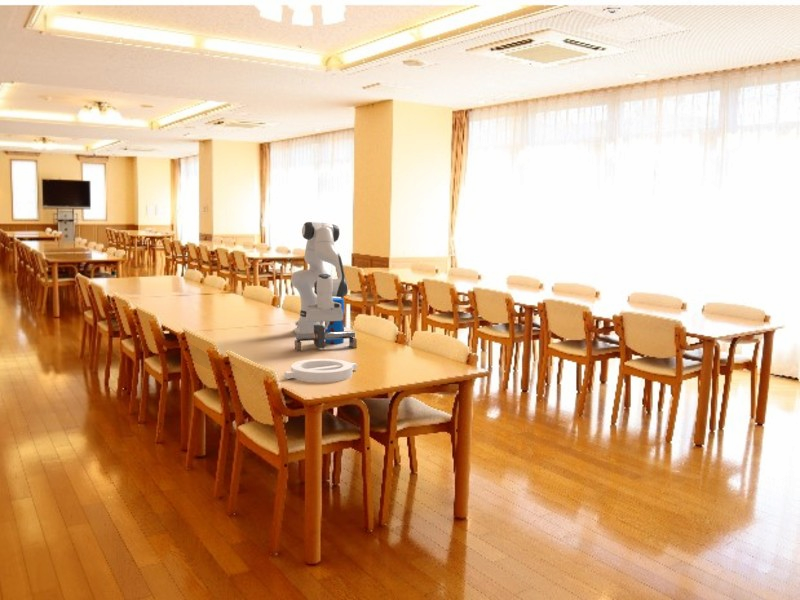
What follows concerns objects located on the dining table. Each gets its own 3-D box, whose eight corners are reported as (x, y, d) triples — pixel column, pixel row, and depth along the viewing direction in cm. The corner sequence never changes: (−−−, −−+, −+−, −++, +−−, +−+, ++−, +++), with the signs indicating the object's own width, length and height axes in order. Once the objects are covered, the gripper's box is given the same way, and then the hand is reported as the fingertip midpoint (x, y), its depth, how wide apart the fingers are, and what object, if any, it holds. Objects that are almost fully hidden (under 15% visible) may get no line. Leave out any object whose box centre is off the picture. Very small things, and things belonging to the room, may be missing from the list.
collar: (313, 344, 368) (313, 324, 367) (319, 344, 369) (319, 324, 368) (319, 348, 358) (319, 328, 357) (324, 348, 359) (324, 327, 358)
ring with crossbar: (282, 381, 295) (282, 370, 295) (302, 367, 323) (302, 357, 322) (343, 385, 290) (343, 374, 290) (359, 370, 318) (359, 360, 317)
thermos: (340, 344, 377) (340, 300, 374) (322, 343, 379) (322, 299, 376) (346, 341, 388) (346, 298, 385) (328, 340, 390) (328, 297, 387)
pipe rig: (294, 349, 362) (294, 332, 361) (352, 345, 375) (352, 329, 373) (297, 351, 356) (297, 334, 355) (356, 348, 368) (356, 331, 367)
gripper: (307, 305, 355) (307, 331, 357) (344, 304, 363) (343, 329, 364) (304, 304, 361) (304, 329, 363) (340, 302, 369) (340, 327, 370)
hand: (324, 329), depth 364 cm, fingers closed
